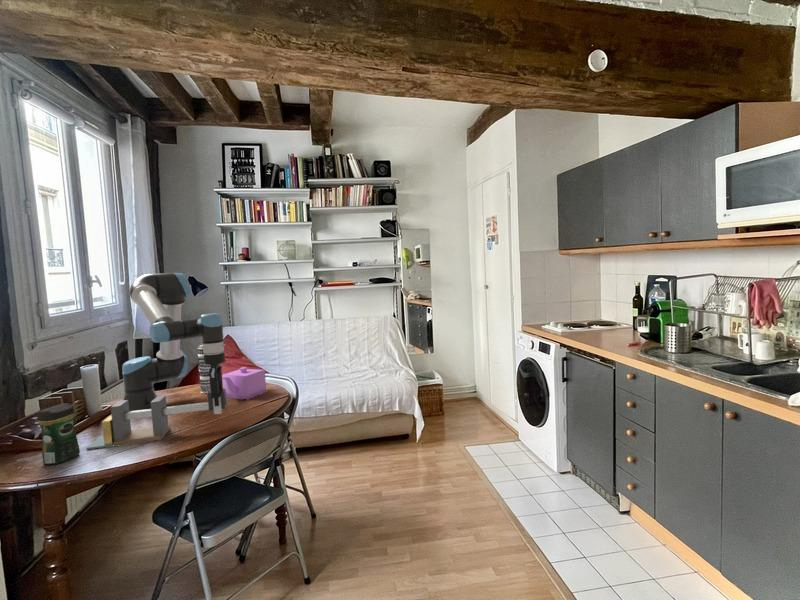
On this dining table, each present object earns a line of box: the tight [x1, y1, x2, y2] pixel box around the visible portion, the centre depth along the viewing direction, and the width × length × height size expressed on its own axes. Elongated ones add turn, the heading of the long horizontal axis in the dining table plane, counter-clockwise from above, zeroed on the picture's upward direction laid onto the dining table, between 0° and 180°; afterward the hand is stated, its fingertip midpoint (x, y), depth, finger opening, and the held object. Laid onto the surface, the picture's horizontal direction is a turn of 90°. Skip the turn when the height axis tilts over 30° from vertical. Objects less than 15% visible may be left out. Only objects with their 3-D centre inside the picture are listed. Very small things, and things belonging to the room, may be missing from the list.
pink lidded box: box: [222, 366, 267, 400], centre depth 210 cm, size 15×25×14 cm, turn 157°
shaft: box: [124, 389, 228, 420], centre depth 163 cm, size 4×36×7 cm, turn 105°
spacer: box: [101, 414, 116, 445], centre depth 158 cm, size 10×2×8 cm, turn 15°
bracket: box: [110, 395, 171, 447], centre depth 160 cm, size 12×16×14 cm
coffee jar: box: [37, 402, 81, 465], centre depth 143 cm, size 10×8×19 cm
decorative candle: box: [196, 343, 211, 394], centre depth 222 cm, size 9×9×25 cm
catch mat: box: [86, 435, 114, 450], centre depth 157 cm, size 12×8×1 cm
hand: (218, 411), depth 167 cm, fingers closed on shaft, 4 cm apart
